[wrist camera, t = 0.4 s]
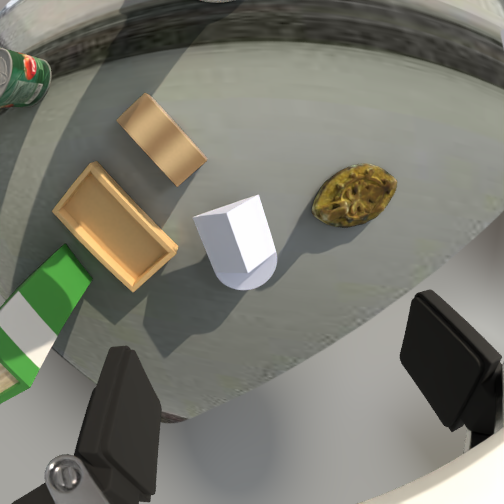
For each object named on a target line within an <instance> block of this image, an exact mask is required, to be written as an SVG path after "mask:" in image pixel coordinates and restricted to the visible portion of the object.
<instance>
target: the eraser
mask: <svg viewBox="0 0 504 504" xmlns="http://www.w3.org/2000/svg"><path fill="white" fill-rule="evenodd" d="M116 121H117V122H118V123H119V124H120V125H121V126H122V128H123V129H124V130H125V131H126V132H127V133H128V134H129V135H130V136H131V137H132V138H133V140H134V141H135V142H136V143H137V144H138V145H139V146H140V147H141V148H142V149H143V151H144V152H145V153H146V154H147V155H148V156H149V157H150V158H151V159H152V160H153V161H154V162H155V164H156V165H157V166H158V167H159V168H160V169H161V170H162V171H163V172H164V173H165V174H166V176H167V177H168V178H169V179H170V180H171V181H172V182H173V183H174V184H175V185H176V186H177V187H178V186H179V185H180V184H181V183H182V182H183V181H185V180H186V179H187V178H188V177H189V176H190V175H191V174H192V173H194V172H195V171H196V170H197V169H198V168H199V167H200V166H202V165H203V164H204V163H205V162H206V161H207V157H206V156H205V155H204V153H203V152H202V151H201V150H200V149H199V148H198V147H197V146H196V145H195V143H194V142H193V141H192V140H191V139H190V138H189V137H188V136H187V135H186V133H185V132H184V131H183V130H182V129H181V128H180V127H179V126H178V125H177V123H176V122H175V121H174V120H173V119H172V118H171V117H170V116H169V115H168V114H167V113H166V111H165V110H164V109H163V108H162V107H161V106H160V105H159V104H158V103H157V102H156V101H155V100H154V98H153V97H152V96H151V95H149V94H147V93H144V94H143V95H142V96H141V97H140V98H139V99H138V100H136V101H135V102H134V103H133V104H132V105H131V106H130V107H129V108H128V109H127V110H126V111H125V112H124V113H123V114H122V115H121V116H120V117H119V118H118V119H117V120H116Z"/></svg>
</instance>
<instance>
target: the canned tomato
mask: <svg viewBox="0 0 504 504" xmlns="http://www.w3.org/2000/svg"><path fill="white" fill-rule="evenodd" d="M50 82H51V68H50V66H49V64H48V63H47V62H46V61H45V60H43V59H39V58H36V57H32V56H29V55H26V54H22V53H18V52H14V51H11V50H6V49H4V48H0V107H31V106H33V105H35V104H37V103H38V102H39V101H40V100H41V99H42V98H43V97H44V95H45V94H46V92H47V90H48V88H49V86H50Z"/></svg>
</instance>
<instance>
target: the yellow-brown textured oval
mask: <svg viewBox="0 0 504 504" xmlns="http://www.w3.org/2000/svg"><path fill="white" fill-rule="evenodd" d="M396 188H397V180H396V179H395V178H394V177H393V176H392V175H390V174H389V173H388V172H386V171H385V170H384V169H382V168H380V167H378V166H375V165H372V164H357V165H353V166H350V167H347V168H345V169H343V170H341V171H339V172H338V173H336V174H335V175H333V176H332V177H331V178H330V179H329V180H327V181H326V182H325V183H324V184H323V186H322V187H321V189H320V190H319V192H318V194H317V196H316V198H315V200H314V204H313V206H312V214H313V215H314V216H315V217H316V218H318V219H319V220H321V221H322V222H324V223H326V224H328V225H331V226H335V227H342V228H343V227H344V228H348V227H352V226H356V225H360V224H364V223H366V222H368V221H370V220H372V219H374V218H376V217H377V216H378V215H379V214H380V213H381V212H382V211H384V209H385V208H386V206H387V205H388V203H389V202H390V200H391V198H392V197H393V195H394V193H395V191H396Z"/></svg>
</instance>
